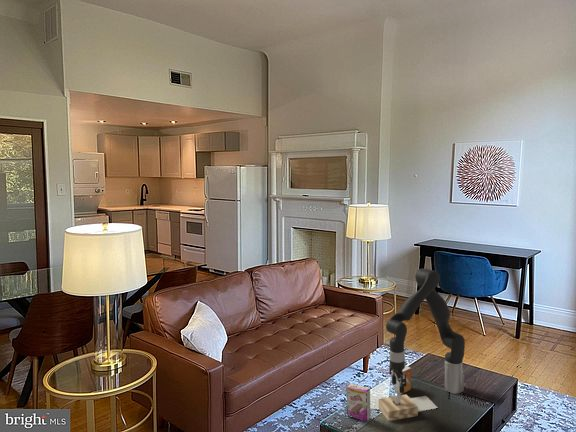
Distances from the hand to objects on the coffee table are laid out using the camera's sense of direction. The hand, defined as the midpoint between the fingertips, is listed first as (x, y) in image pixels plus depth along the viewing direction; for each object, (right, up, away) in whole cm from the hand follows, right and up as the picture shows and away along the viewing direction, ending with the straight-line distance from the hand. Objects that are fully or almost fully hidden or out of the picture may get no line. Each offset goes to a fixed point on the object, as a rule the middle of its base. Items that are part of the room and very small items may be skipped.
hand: (397, 388), depth 222 cm
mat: (+14, -11, +8) cm, 20 cm away
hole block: (0, -13, +2) cm, 13 cm away
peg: (0, -13, +2) cm, 13 cm away
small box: (+8, -10, +23) cm, 26 cm away
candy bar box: (-20, -14, -2) cm, 25 cm away
